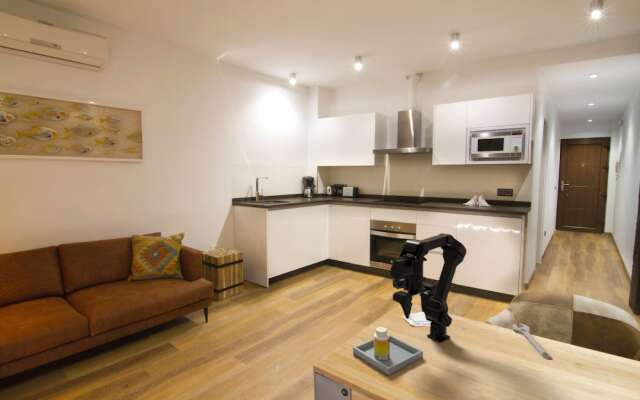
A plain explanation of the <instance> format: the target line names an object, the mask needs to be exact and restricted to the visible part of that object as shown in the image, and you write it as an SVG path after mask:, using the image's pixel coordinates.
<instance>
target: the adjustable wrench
mask: <svg viewBox="0 0 640 400" xmlns="http://www.w3.org/2000/svg"><path fill="white" fill-rule="evenodd" d="M512 330H513V332H514V333H517V334H520V335H522V336H523V337H524V338H525V339H526V340H527V341H528V343H529V344H530V345H531V347H533V349H534V350H535V351H536V352H537V353H538V354H539V355H540V357H542V358H543V359H547V360H549V359H550V358H551V354H550V352H549V351H547V350H546V348H545V347H543V345H542V344H540V342H539V341H537V339H536V338H534V336H532V334H531V333H530V326H528V325H526V324H524V323H519V326H517V325H516V324H512Z"/></svg>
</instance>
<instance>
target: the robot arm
mask: <svg viewBox="0 0 640 400" xmlns="http://www.w3.org/2000/svg"><path fill="white" fill-rule="evenodd" d="M437 248H438V249H439V248H440V249H441V250H442V259H443V265H442V268H441V270H440V271H441V272H440V274H439V277H438V281H437V284H436V285H435V284H432V283H428V282H424V281H427V277H425V276H424V262H426V261H428V259H427V258H426V257H425V256H427V255H428V254H429V252H430V251H432V250H435V249H437ZM466 255H467V248H466V247H465V245H464V244H463V243H462V242H460V241H459V240H457V239H456V237H454V236H453V235H452V234H450V233H443V232H442V233H439V234H437V235H433V236H430V237H427V238H424V239H407V240H406V241H405V243H404V245H403V248H402V249H401V252H400V254H399V256H398V259H396V260H394V263H393V264H392V265H391V267H390V275H391V277H392V278H393V279H392V287H393V288H394V289H396V290H398V291H395V292H393V294H392V300H393V301H395V302H396V303H398V304H400V306H401V308H402V312H403V314H404V318H406V319H409V318H410V317H411V316H410V315H411V311H412V307H413V302H412V301H413V297H415V296H418V295H419V297H420V307H421V312H423V314H424V318H425V321H428V322H430V323H429V324H430V325H429V326H430V327H429V333H428V334H426V336H427V337H428V338H429V339H433V340H435V341H437V342H439V343H442V342H444V341H447V340H449V339H450V338H451V336H450V335H449V334H447V329H448V328H449V327H450V326H451V325H452V321H453V318H452V316H451V315H449V314H448V312H449V306H448V302H447V299H448V296H449V293H450V289H451V287H452V284H453V280H454V277H455V273H456V270H457V267H458V266H459V265H460V264H462V262H463V261H464V259H465V257H466ZM400 289H403V290H400ZM447 327H448V328H447Z"/></svg>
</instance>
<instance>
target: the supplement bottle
mask: <svg viewBox="0 0 640 400" xmlns="http://www.w3.org/2000/svg"><path fill="white" fill-rule="evenodd" d="M389 335H390V334H389V333H388V329H387V327H383V326H379V327H376V329H375V333H374V334H373V339H374V356H375V358H376V359H378V360H387V359H389V357H390V337H389Z"/></svg>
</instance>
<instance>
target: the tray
mask: <svg viewBox="0 0 640 400" xmlns="http://www.w3.org/2000/svg"><path fill="white" fill-rule="evenodd" d="M389 337H390V357H389V359H387V360H378V359H376V358H375V356H374V338H372V339H369V340H367V341H365V342H362V343H360V344H358V345H355V346H353V347H352V354H353V355H355V356H356V357H357V358H359V359H361V360H362V361H363V362H365V363H367V364H369V365H370V366H372V367H373V368H375V369H376V370H379V372H381V373H383V374H385V375H386V376H388V377H389V376H391V375H394V374H395V373H397V372H399V371H400V370H402V369H404V368H408V367H409V366H410V365H412V364H414V363H416V362H418V361H420V360H422V359H423V358H424V351H423V350H421V349H419V348H418V347H415V346H414V345H411V344H409V343H407V342H405V341H403V340H402V339H399V338H397V337H395V336H393V335H392V334H389Z"/></svg>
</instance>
